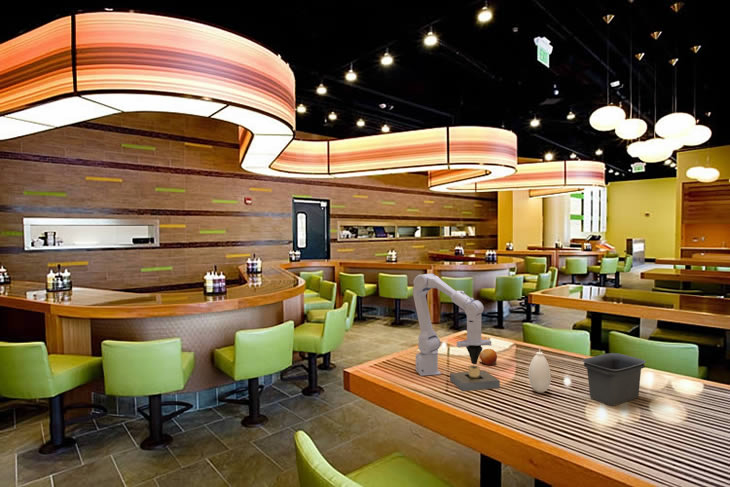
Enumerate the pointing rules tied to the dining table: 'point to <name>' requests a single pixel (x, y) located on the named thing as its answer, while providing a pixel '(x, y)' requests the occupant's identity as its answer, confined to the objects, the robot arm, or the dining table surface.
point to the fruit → (488, 356)
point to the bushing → (474, 372)
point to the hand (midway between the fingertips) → (474, 363)
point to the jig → (474, 381)
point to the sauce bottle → (539, 373)
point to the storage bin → (614, 377)
